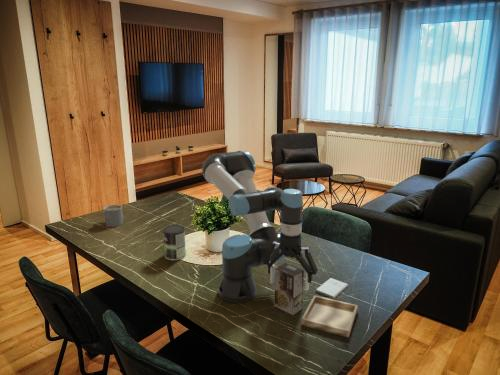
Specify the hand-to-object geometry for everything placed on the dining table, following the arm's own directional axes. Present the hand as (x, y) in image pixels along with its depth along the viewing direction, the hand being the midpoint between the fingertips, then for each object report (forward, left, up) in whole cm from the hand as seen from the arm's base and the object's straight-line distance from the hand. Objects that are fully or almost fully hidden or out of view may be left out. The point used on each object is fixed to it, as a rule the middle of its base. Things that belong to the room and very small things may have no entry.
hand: (289, 285), depth 145 cm
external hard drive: (+12, +20, -10) cm, 25 cm away
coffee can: (-64, +18, -10) cm, 67 cm away
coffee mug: (-122, +38, -10) cm, 128 cm away
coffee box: (0, 0, -10) cm, 10 cm away
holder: (+16, 0, -9) cm, 18 cm away
